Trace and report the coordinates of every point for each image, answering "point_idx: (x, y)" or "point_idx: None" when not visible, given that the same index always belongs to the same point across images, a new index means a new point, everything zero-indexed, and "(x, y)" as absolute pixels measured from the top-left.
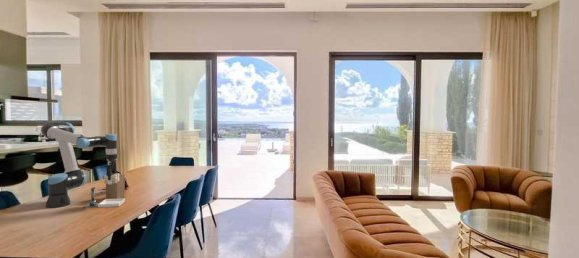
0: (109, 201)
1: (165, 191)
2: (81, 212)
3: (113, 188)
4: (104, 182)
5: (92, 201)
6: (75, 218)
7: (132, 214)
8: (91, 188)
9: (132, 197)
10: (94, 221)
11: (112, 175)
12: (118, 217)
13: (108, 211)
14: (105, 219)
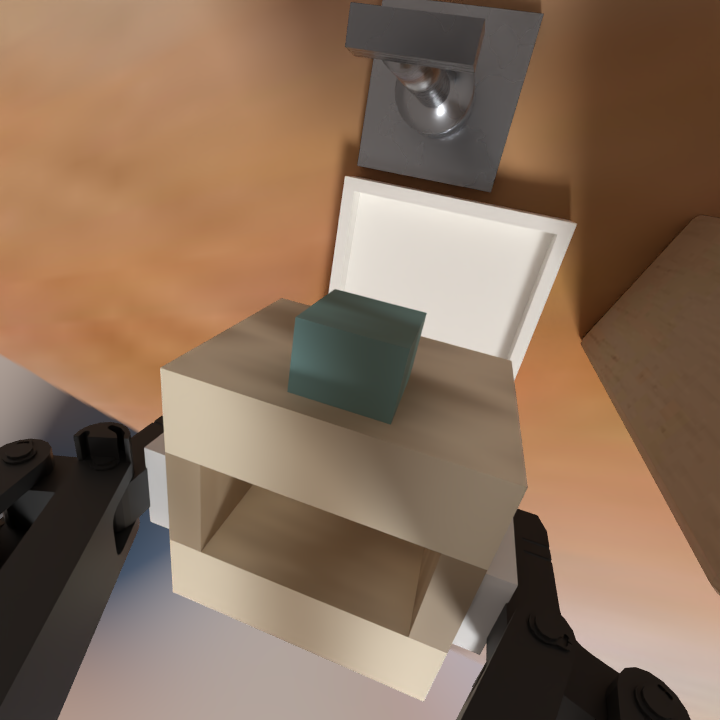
0: (515, 273)
1: (700, 714)
2: (218, 40)
3: (662, 364)
4: (271, 308)
5: (395, 94)
6: (66, 45)
7: (136, 425)
8: (366, 13)
9: (624, 476)
10: (21, 221)
11: (173, 544)
12: (89, 354)
13: (211, 287)
14: (56, 284)
